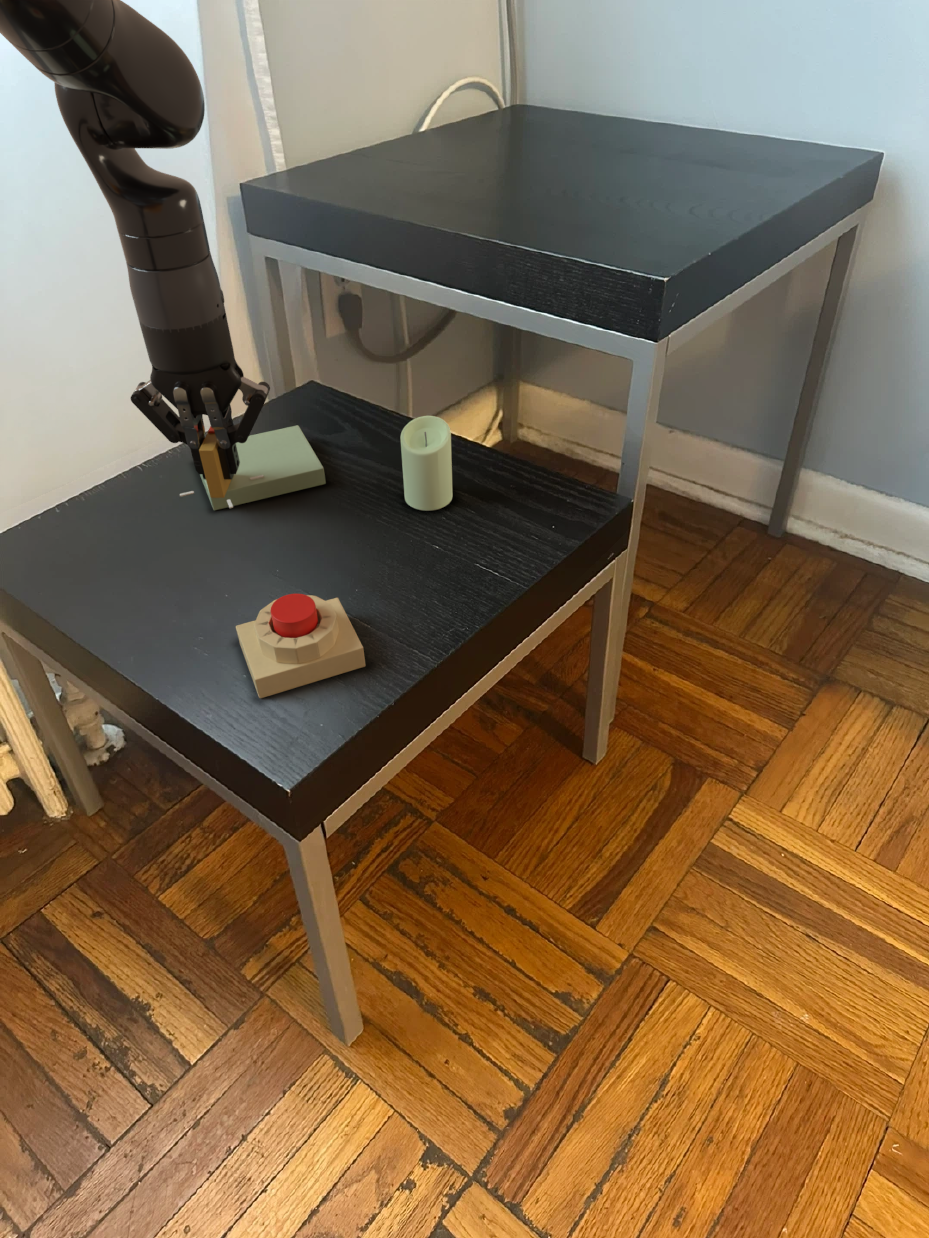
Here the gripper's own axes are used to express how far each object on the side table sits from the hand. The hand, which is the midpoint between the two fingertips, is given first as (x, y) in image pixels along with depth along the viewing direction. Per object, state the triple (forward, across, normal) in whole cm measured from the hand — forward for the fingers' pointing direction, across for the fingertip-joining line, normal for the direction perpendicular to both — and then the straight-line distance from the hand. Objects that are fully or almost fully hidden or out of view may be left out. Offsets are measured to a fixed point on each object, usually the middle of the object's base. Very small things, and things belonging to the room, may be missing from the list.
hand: (220, 474), depth 89 cm
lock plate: (+3, +2, +3) cm, 5 cm away
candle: (+4, +21, +1) cm, 21 cm away
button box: (+3, +12, -23) cm, 26 cm away
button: (0, +12, -23) cm, 26 cm away
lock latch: (+1, 0, 0) cm, 1 cm away
